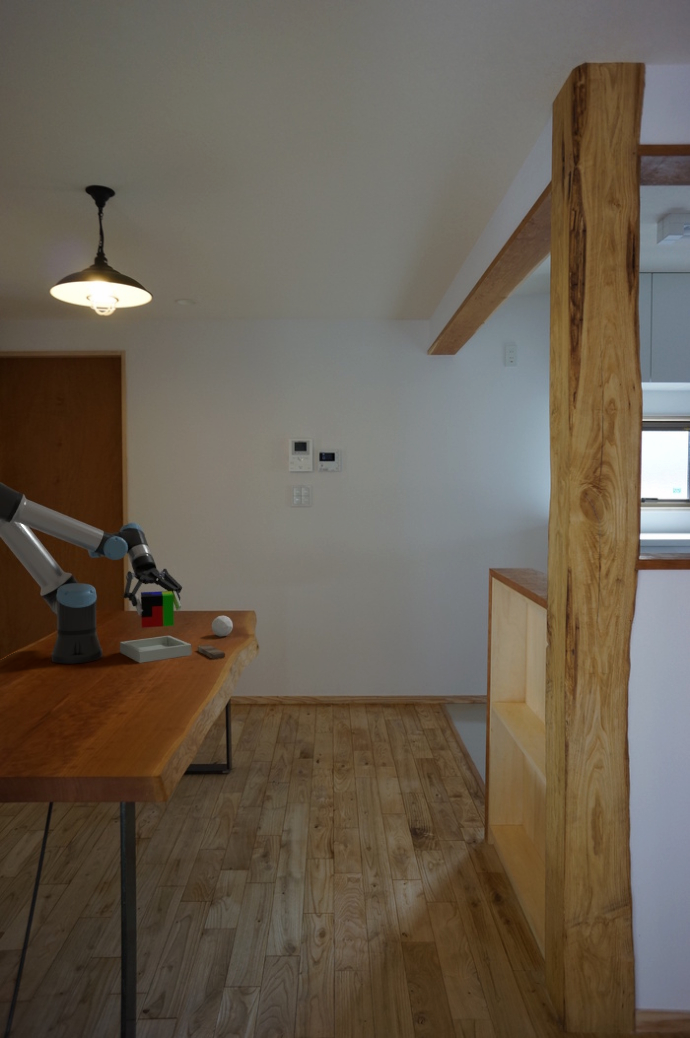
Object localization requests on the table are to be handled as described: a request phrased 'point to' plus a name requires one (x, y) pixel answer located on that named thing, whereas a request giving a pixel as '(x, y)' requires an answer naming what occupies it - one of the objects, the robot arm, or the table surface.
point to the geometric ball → (222, 626)
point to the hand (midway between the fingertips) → (160, 610)
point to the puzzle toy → (157, 609)
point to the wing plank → (211, 652)
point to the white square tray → (155, 649)
